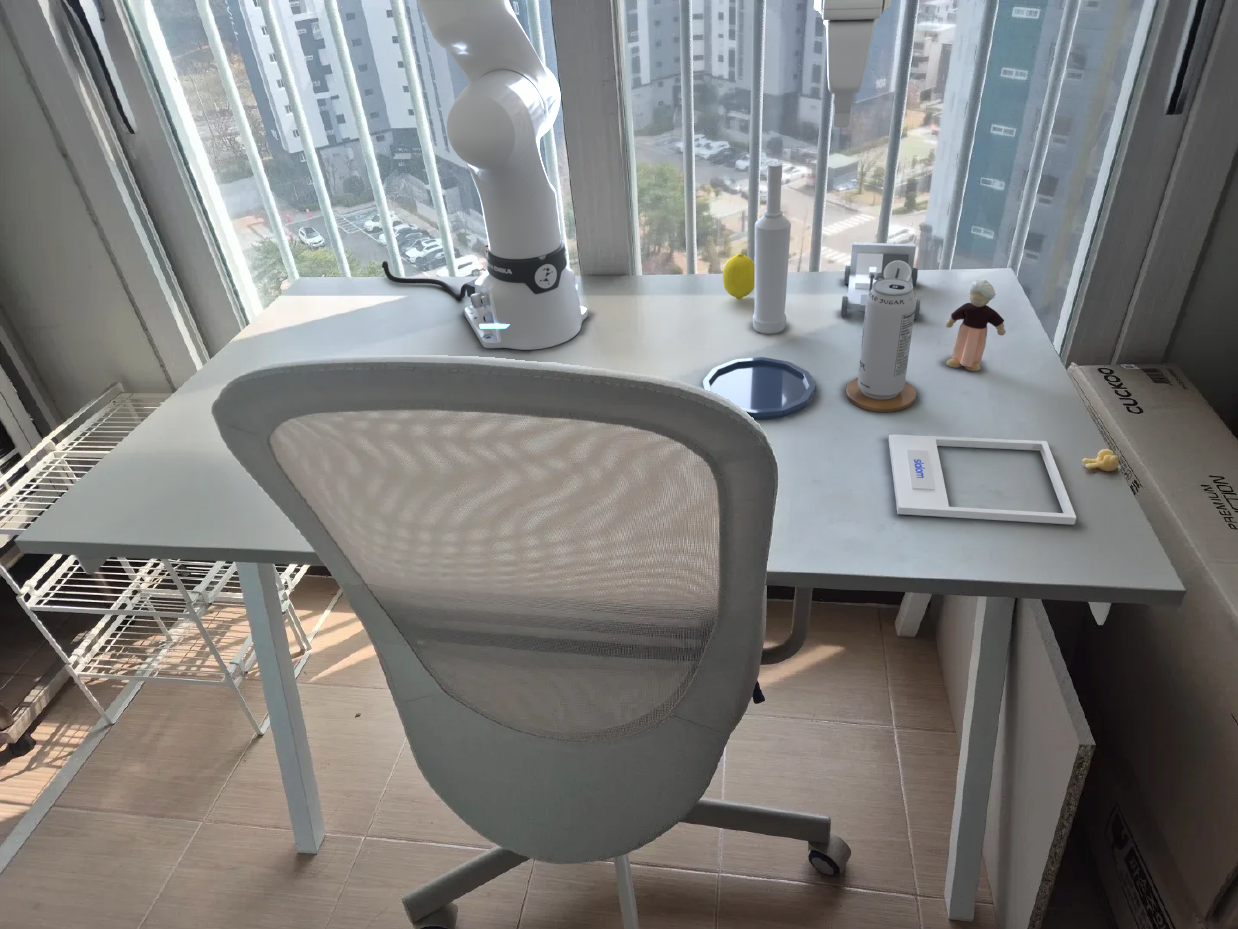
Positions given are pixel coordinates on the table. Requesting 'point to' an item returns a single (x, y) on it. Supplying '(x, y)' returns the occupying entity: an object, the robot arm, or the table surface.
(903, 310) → the energy drink can
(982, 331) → the grandmother figurine
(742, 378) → the plate
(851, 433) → the table surface
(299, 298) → the table surface
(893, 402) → the coaster
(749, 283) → the lemon
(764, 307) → the bottle
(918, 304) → the toy car
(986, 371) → the table surface
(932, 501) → the photo frame
